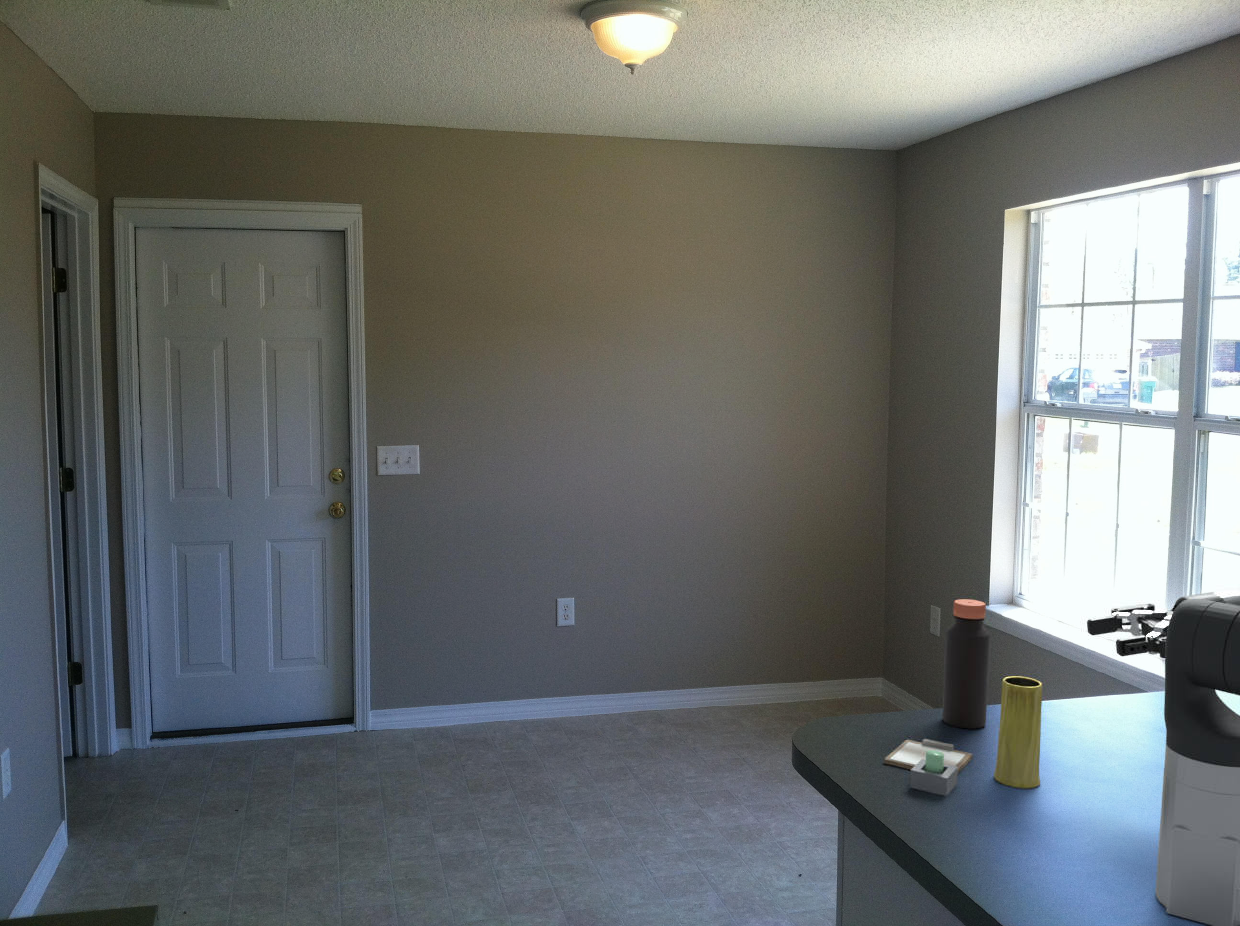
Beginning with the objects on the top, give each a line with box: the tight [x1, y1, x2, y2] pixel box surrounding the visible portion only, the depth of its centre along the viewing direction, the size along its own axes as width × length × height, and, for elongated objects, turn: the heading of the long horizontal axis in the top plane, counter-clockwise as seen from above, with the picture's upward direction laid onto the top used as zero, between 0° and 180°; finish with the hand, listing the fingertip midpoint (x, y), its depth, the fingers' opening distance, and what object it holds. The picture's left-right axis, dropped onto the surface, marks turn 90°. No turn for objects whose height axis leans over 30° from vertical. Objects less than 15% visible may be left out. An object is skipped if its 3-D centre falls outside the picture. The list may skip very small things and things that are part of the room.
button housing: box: [909, 759, 959, 797], centre depth 144 cm, size 5×5×2 cm
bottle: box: [941, 598, 991, 730], centre depth 170 cm, size 7×7×20 cm
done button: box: [925, 750, 944, 774], centre depth 144 cm, size 2×2×3 cm
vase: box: [993, 675, 1043, 789], centre depth 146 cm, size 6×6×14 cm
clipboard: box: [883, 738, 974, 774], centre depth 154 cm, size 10×10×1 cm
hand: (1102, 637), depth 143 cm, fingers open, 8 cm apart
